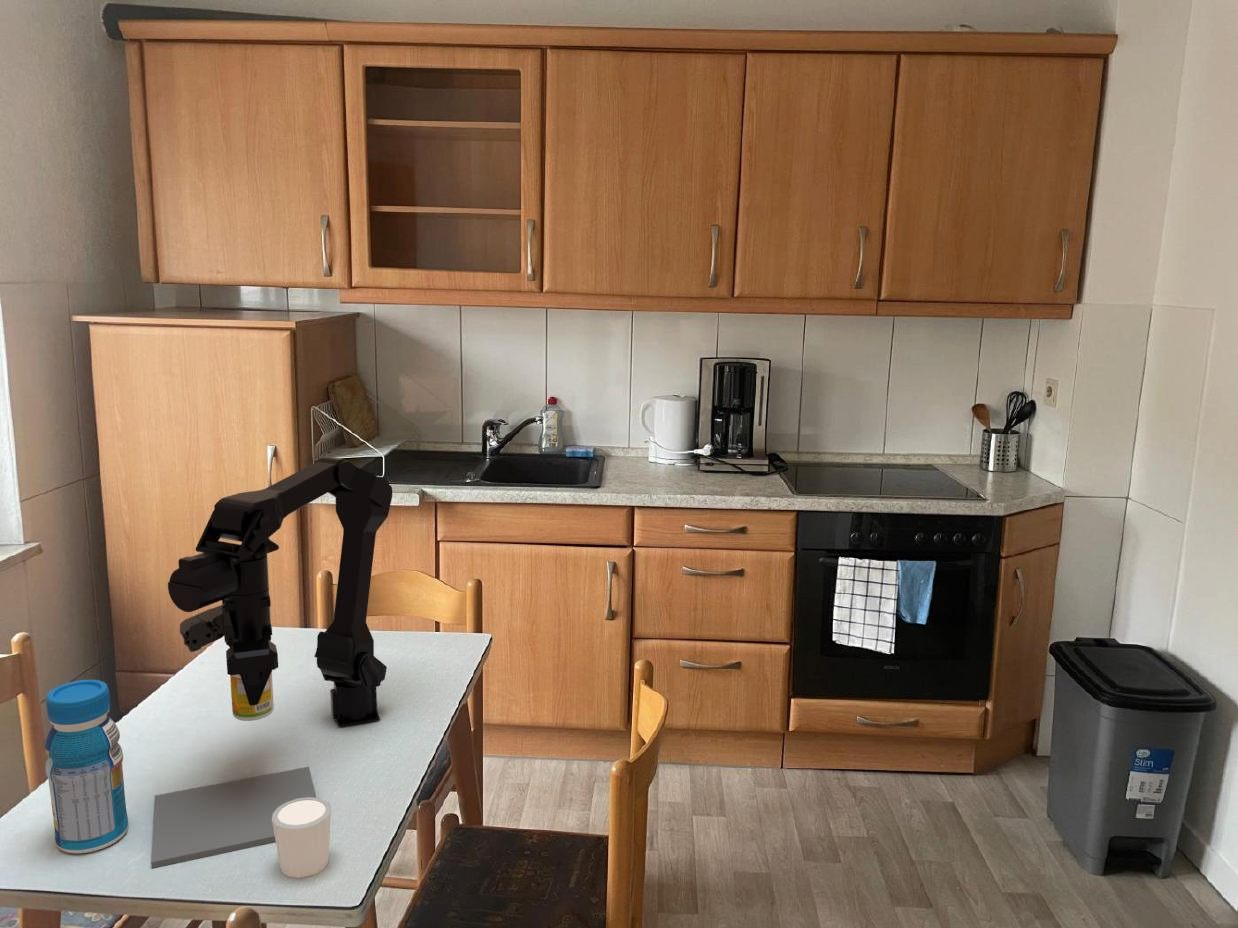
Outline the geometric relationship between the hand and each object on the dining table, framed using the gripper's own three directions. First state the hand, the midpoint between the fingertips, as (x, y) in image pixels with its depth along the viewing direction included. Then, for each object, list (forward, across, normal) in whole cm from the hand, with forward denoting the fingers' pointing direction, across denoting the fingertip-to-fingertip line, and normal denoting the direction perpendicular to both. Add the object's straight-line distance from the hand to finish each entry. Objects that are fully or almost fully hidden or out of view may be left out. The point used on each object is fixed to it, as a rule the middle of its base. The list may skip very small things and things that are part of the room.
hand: (252, 696), depth 133 cm
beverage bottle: (+13, +7, -20) cm, 25 cm away
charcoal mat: (+13, +9, -3) cm, 16 cm away
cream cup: (+13, +23, +4) cm, 26 cm away
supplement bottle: (+3, 0, 0) cm, 3 cm away
